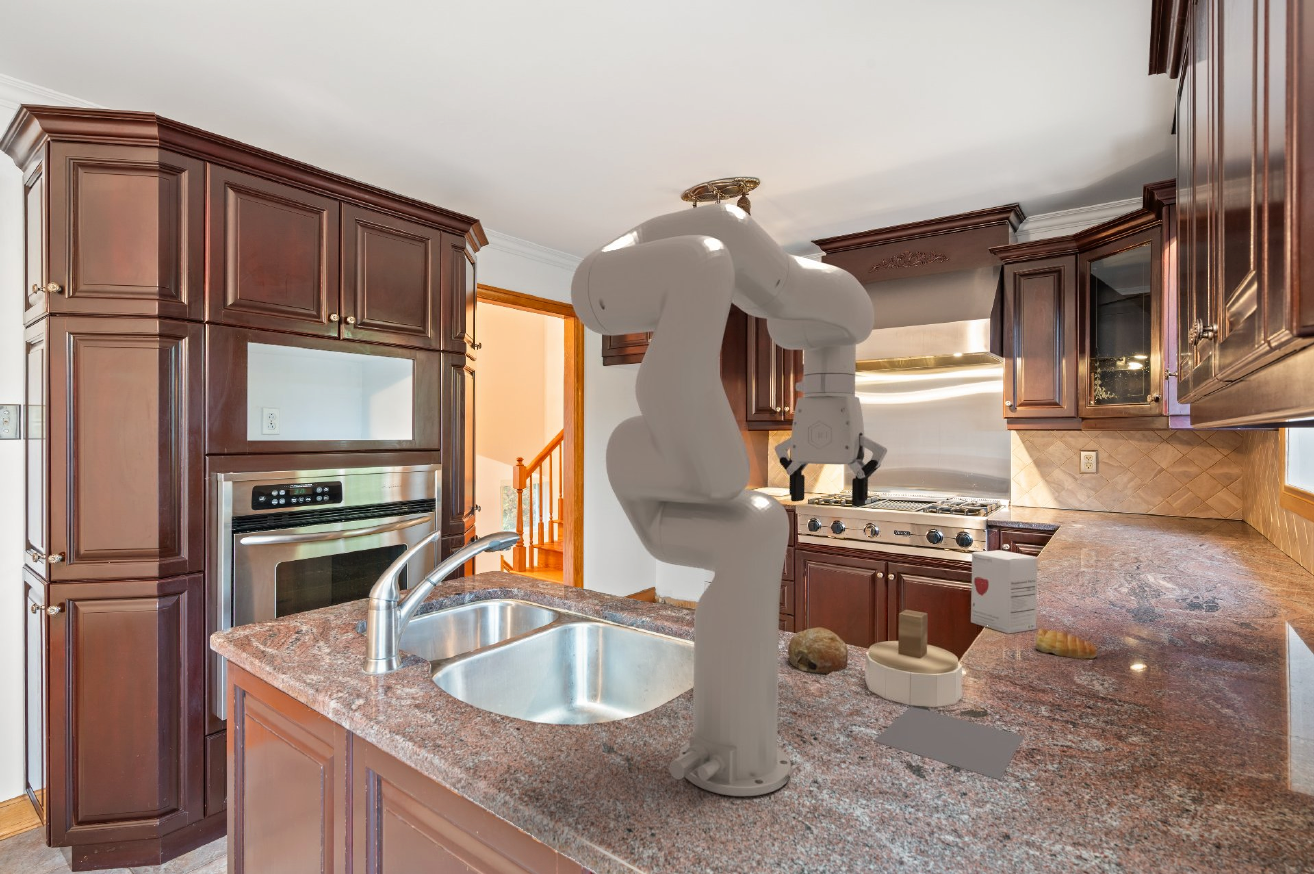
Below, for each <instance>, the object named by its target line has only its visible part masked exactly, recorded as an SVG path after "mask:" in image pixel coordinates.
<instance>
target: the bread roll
mask: <svg viewBox="0 0 1314 874" xmlns="http://www.w3.org/2000/svg"><path fill="white" fill-rule="evenodd" d="M787 648H788V649H787V653H788V658H789V662H790V663H791V664H792V666H793V667H794V668H797V669H798V670H799V671H802V672H808V673H814V674H825V675H829V674H831V673H832V672H838V671H842V670H844V669H846V668H847V667H848V655H849V654H848V647H847V644H846V643H845V641H844V640H843V639H841V638H840V636H838V634H836V633H835V632H833V631H831V630H830V629H828V628H825V627H820V626H818V627H813V628H808V629H804V630H801V631H798V632H797V633H795V634H794V635H793V636H792V637H791V639H790V641H789V644H788V647H787Z"/></svg>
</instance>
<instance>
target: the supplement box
mask: <svg viewBox="0 0 1314 874" xmlns="http://www.w3.org/2000/svg"><path fill="white" fill-rule="evenodd" d="M1038 561H1039V557H1037V556H1035V555H1034V556H1033V555H1028V554H1022V553H1016V552H1012V551H1008V550H1001V549H998V550H996V549H995V550H986V551H974V552H972V553H971V593H970V594H971V595H970V596H971V601H970V605H971V606H970V608H971V609H970V622H971V624H972V623H973V624H975V625H979V626H982V627H985V628H988V629H992V630H994V631H998V632H1001V633H1004V634H1009V635H1010V634H1015V633H1021V632H1027V631H1033V630H1037V607H1038V605H1037V603H1038V600H1037V598H1038V597H1037V596H1038V595H1037V594H1038V564H1039V562H1038ZM987 625H988V627H987Z"/></svg>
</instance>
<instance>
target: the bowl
mask: <svg viewBox="0 0 1314 874" xmlns="http://www.w3.org/2000/svg"><path fill="white" fill-rule="evenodd" d="M865 683H866V686H867V688H868V690H869V692H872V693H873V694H875V695H878V696H879V697H881V698H883V699H885V700H889V701H893V702H897V703H901V704H904V705H907V706H908V705H909V706H913V707H928V708H929V707H931V708H940V707H945V706H951V705H956V704H957V703H958V702H959V701H960V700H961V699H962V696H963V665H962V664H961V663H960V662H959V661H958V667H957V669H955V670H953V671H951V672H947V673H938V674H926V673H914V672H907V671H902V670H897V669H893V668H890V667H887V666H884V665H882V664H879V663H877V662H876V661H874V660H873V659H872V658H871V657H870V656H869V650H868V651H866V652H865Z"/></svg>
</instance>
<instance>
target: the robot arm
mask: <svg viewBox="0 0 1314 874" xmlns="http://www.w3.org/2000/svg"><path fill="white" fill-rule="evenodd" d="M570 297H571V298H570V300H571V304H572V307H573V311H574V312H575V315H576V317H577V318H578V320H579V321H580V322H581V324H582V325H584V326H585V327H586V328H587V329H589V330H590V331H592V332H593V333H596V334H600V335H603V336H621V335H631V334H639V333H640V334H642V333H650V332H653V333H652V335H651V338H650V341H649V343H648V346H647V348H646V350H645V354H644V355H643V358H642V361H641V363H640V365H639V368H638V370H637V374H636V378H635V379H636V380H635V386H634V389H635V391H634V392H635V398H636V403H637V405H638V408H639V411H640V413H641V415H636V416H632V417H629V418H627V419H624V420H622V421H621V422H620V423H619V424H618V425H617V426H615V428H614V429H613V430H612V432H611V434H610V436H609V438H608V442H607V445H606V450H605V463H606V464H605V467H606V468H605V469H606V474H607V477H608V482H609V483H610V484H609V485H610V487H611V489H612V491H613V493H614V496H615V497H616V499H617V501H618V502H619V505H620V507H621V508H622V511H624V514H625V515H626V518H627V519H628V521H629V522H630V524H631V527H632V528H633V530H634V532H635V534H636V535H637V537H638V539H639V540H640V542H641V544H642V545H643V548H644V549H645V550H646V551H647V552H648V553H649V554H650V556H652V557H653V558H654V559H656V560H658V561H660V562H661V563H666V564H669V565H675V566H683V567H688V568H695V569H696V568H697V569H700V570H701V569H703V570H705V571H710V572H713V573H714V576H713V578H712V581H710V583H709V585H707V587H706V589H705V590H704V591H703V593H702V594H701V596H700V597H699V599H698V601H697V603H696V607H695V612H694V625H693V626H694V627H693V628H694V632H693V633H694V643H693V645H694V646H693V649H694V650H693V694H692V696H693V704H692V705H693V706H692V707H693V708H692V733H691V734H690V735H689V738H688V739H689V741H688V742H687V743H686V744H684V746H682V747H681V749H680V751H679V754H678V757H677V758H675V759H673V760H672V761H671V762H670V763H669V768H668V769H669V772H670V775H671V777H673V778H674V779H676V780H677V781H678V780H682V779H683V778H685V779H687V780H688V781H689V783H692V784H693V785H695V786H697V787H699V788H700V789H703V790H705V791H708V792H711V793H714V794H715V793H716V794H719V795H724V796H731V797H754V796H761V795H766V794H769V793H772V792H774V791H777V790H779V789H780V788H782V787H783V786H785V784H787V782H789V780H790V778H791V772H792V763H791V759H790V758H789V756H788V755H787V753H786V752H785V751H784V750H783V749H782V748H781V747H779V746H778V719H779V718H778V717H779V715H778V709H779V704H778V703H779V652H780V651H779V649H780V648H779V642H780V641H779V640H780V639H779V638H780V637H779V633H780V632H779V629H780V601H781V600H780V598H781V597H780V596H781V587H782V586H781V585H782V578H783V577H782V576H783V570H784V565H785V561H786V554H787V550H788V544H789V538H790V519H789V516H788V512H787V511H786V509H785V507H784V505H783V504H782V503H781V502H780V501H779V500H778V499H777V498H775V497H774V496H772V495H770V494H768V493H765V492H762V491H757V490H754V489H746V488H747V486H748V484H749V481H750V478H751V464H750V463H751V462H750V458H749V454H748V451H747V447H746V445H745V441H744V439H743V436H742V433H741V431H740V428H739V425H738V423H737V420H736V418H735V414H734V412H733V410H732V407H731V405H730V402H729V399H728V396H727V395H726V391H725V389H724V385H723V381H722V379H721V375H720V359H721V358H720V355H721V350H722V345H723V338H724V334H725V330H726V326H727V322H728V318H729V313H730V310H731V305H732V304H733V305H734V306H736V307H737V308H739V309H740V310H741V311H743V312H744V313H746V314H747V315H750V316H752V317H755V318H761V319H766V328H767V332H768V334H769V337H770V339H771V340H772V341H773V342H774V343H775V344H776V345H777V346H779V347H780V348H782V349H785V350H789V351H790V350H791V351H795V350H796V351H798V350H799V351H800V350H801V351H803V375H802V377H801V379H802V380H801V381H800V382H796V383H795V391H797V392H801V394H802V397H797V399H796V404H795V409H794V413H793V419H792V425H791V436H790V437H789V438H787V439H785V440H784V441H782V442H780V443H778V444H776V445H775V446H774V451H775V453H776V455H777V458H778V459H779V461H778V462H779V464H780V465H781V466H782V467H783V468H784V470H785V471H786V474H787V475H789V486H788V487H789V495H790V501H791V502H803V501H804V500H805V487H806V486H805V484H806V482H805V480H806V479H805V478H806V477H805V475H804V474H802V472H803V471H804V470H805V469H806V468H807V466H809V464H811V465H812V464H816V465H817V464H819V465H848V467H849V468H850V469H851V471H852V473H854V475H855V477H854V478H852V481H851V482H852V483H851V505H852V506H853V507H863V506H865V505H866V501H867V500H868V497H869V479H870V478H871V477H872V475H873V474H874V473H875V472H876V471H877V470H878V469H879V468H880V466H881V463H882V462H883V460H884V458H885V456H886V455H887V453H888V449H887V447H885V446H883V445H882V444H879V443H877V442H876V441H874V440H873V439H871V438H869V437H867V436H865V428H864V419H863V418H864V416H863V412H862V411H863V410H862V405H861V402H860V401H861V400H860V397H858V396H856V360H857V359H856V358H857V356H856V355H857V353H856V351H857V350H856V349H857V345H860V344H861V343H864V342H865V341H866V340H867V339H868V338H869V337H870V335H871V334H872V332H873V330H874V325H875V309H874V304H873V302H872V300H871V297H870V295H869V294H868V292H867V290H866V289H865V288H864V287H863V285H862V284H861V283H860V281H859V280H858V279H857V278H856V277H855V276H854V275H853V274H852V273H850V272H848V271H847V270H845V269H844V268H843V269H842V268H840V267H838V266H835V265H832V264H828V263H824V262H821V261H817V260H813V259H810V258H807V257H803V256H799V255H795V254H790V253H787V251H786V250H785V249H784V248H783V247H782V246H781V245H780V244H779V243H778V242H777V241H776V240H775V239H774V238H772V236H771V235H770V234H769V233H768V232H767V231H766V230H765V229H764V228H763V227H762V226H761V225H760V223H758V222H757V221H756V220H755V219H754V218H753V217H752V216H751V215H750V214H749V213H748V212H747V211H745V210H744V209H742V208H741V207H739V206H738V205H734V204H733V203H732V204H731V203H726V202H721V203H711V204H704V205H701V206H696V207H692V208H688V209H683V210H678V211H675V212H671V213H670V212H669V213H666V214H662V215H658V216H655V217H652V218H650V219H648V220H645V221H644V222H641V223H639V224H638V225H636V226H634V227H632V228H631V229H629V230H627V231H626V232H624V233H623V234H621V235H619V236H617V237H616V238H614V239H612V240H611V241H609V242H607V243H606V244H604V245H602V246H601V247H599V248H597V249H595V250H594V251H591V252H590V253H589V254H587V255H586V256H585V257H584V258H583V260H581V261H580V263H579V264H578V265H577V267H576V270H575V271H574V274H573V276H572V281H571V285H570ZM865 449H867V450H868V451H870V452H872V456H871V458H870V460H868V461H867V463H865V462H864V457H865V454H866V453H865ZM789 450H790V456H789V453H788V451H789Z"/></svg>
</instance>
